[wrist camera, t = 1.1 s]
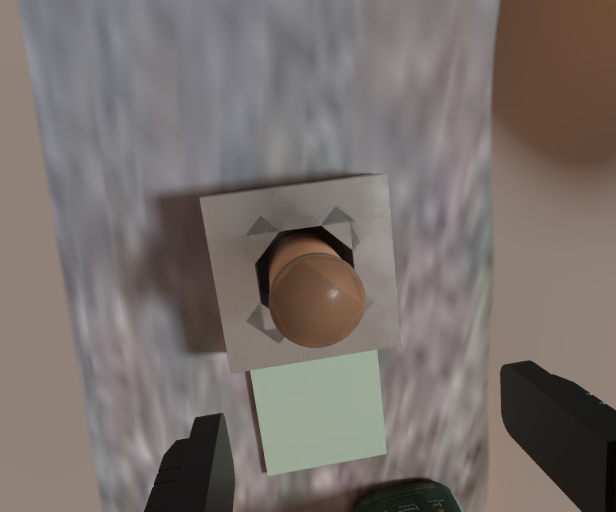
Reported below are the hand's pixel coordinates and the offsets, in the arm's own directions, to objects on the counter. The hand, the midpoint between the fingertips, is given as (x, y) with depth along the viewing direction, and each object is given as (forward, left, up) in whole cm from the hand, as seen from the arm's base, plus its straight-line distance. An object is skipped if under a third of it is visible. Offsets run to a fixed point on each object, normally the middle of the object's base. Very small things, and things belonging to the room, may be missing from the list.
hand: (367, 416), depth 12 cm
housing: (0, 0, -19) cm, 19 cm away
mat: (+12, 0, -19) cm, 23 cm away
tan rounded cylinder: (0, 0, -20) cm, 20 cm away
